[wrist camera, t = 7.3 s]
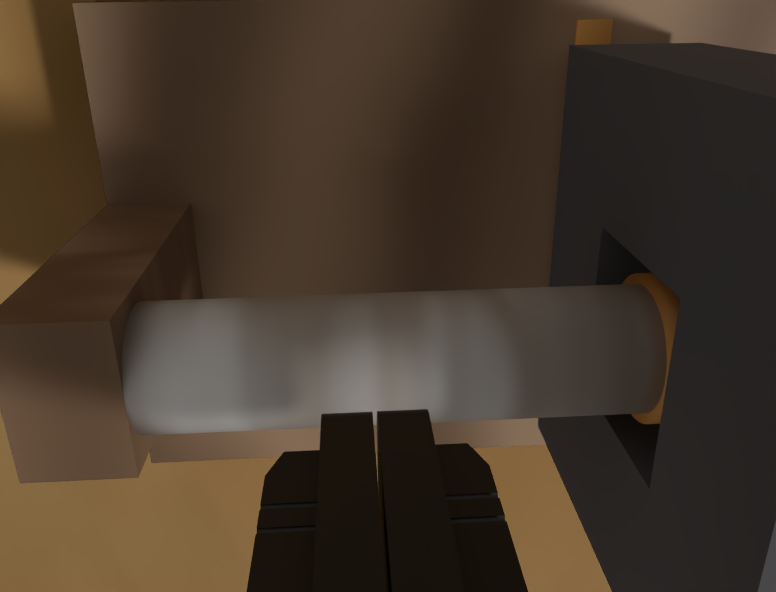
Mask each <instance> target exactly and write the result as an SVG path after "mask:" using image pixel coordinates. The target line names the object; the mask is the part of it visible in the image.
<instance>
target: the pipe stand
mask: <svg viewBox="0 0 776 592" xmlns="http://www.w3.org/2000/svg"><path fill="white" fill-rule="evenodd" d="M72 5H73V11H74V16H75V22H76V28H77V34H78V40H79V45H80V51H81V57H82V63H83V69H84V74H85V80H86V86H87V92H88V98H89V103H90V109H91V115H92V121H93V127H94V132H95V138H96V144H97V150H98V156H99V161H100V167H101V173H102V179H103V185H104V190H105V196H106V202H107V206H106V207H104V208H103V209H102V210H101V211H100V212H99V213H98V214H97V215H96V216H95V217H94V218H93V219H92V220H91V221H90V222H88V223H87V224H86V225H85V226H84V227H83V228H82V229H81V230H80V231H79V232H78V233H77V234H76V235H75V236H74V237H72V238H71V239H70V240H69V241H68V242H67V243H66V244H65V245H64V246H63V247H62V248H61V249H60V250H59V251H57V252H56V253H55V254H54V255H53V256H52V257H51V258H50V259H49V260H48V261H47V262H46V263H45V264H44V265H43V266H41V267H40V268H39V269H38V270H37V271H36V272H35V273H34V274H33V275H32V276H31V277H30V278H29V279H28V280H27V281H25V282H24V283H23V284H22V285H21V286H20V287H19V288H18V289H17V290H16V291H15V292H14V293H13V294H12V295H10V296H9V297H8V298H7V299H6V300H5V301H4V302H3V303H2V304H1V305H0V409H1V413H2V417H3V421H4V425H5V428H6V432H7V436H8V440H9V444H10V447H11V451H12V455H13V459H14V463H15V466H16V470H17V474H18V478H19V482H20V483H35V482H57V481H78V480H99V479H120V478H138V477H139V475H140V472H141V470H142V467H143V465H144V463H145V460H146V458H147V455H148V453H149V452H150V457H151V463H159V462H181V461H203V460H225V459H246V458H268V457H280V456H281V455H282V454H283V452H286V451H309V450H320V430H321V415H322V414H329V413H352V412H373V425H374V439H375V453H377V411H394V410H417V409H428V411H429V416H430V421H431V425H432V430H433V435H434V440H435V445H436V444H458V443H468V444H469V445H470V446H471V447H472V448H485V447H507V446H529V445H546V443H545V441H544V438H543V436H542V434H541V432H540V429H539V427H538V418H549V417H571V416H594V415H617V414H631V415H632V416H633V417H634V418H635V419H636V420H637V421H638V422H640V423H642V424H660V421H661V415H662V409H663V402H664V396H665V390H666V384H667V378H668V372H669V365H670V359H671V353H672V347H673V341H674V335H675V328H676V322H677V316H678V310H679V304H680V298H679V297H678V296H677V295H676V294H675V293H674V292H673V291H671V290H670V289H669V288H668V287H667V286H666V285H665V284H664V283H663V282H662V281H661V280H660V279H658V278H657V277H656V276H655V275H654V274H653V273H635V274H632V275H630V276H628V277H627V278H626V279H625V281H624V282H623V283H622V284H618V285H590V286H561V287H549V285H550V273H551V261H552V249H553V237H554V225H555V213H556V201H557V189H558V177H559V165H560V153H561V141H562V129H563V117H564V105H565V93H566V80H567V68H568V56H569V45H602V44H659V43H706V44H712V45H719V46H725V47H731V48H738V49H744V50H751V51H757V52H763V53H770V54H776V0H184V1H113V2H82V3H72Z"/></svg>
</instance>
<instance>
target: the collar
mask: <svg viewBox="0 0 776 592" xmlns="http://www.w3.org/2000/svg"><path fill="white" fill-rule="evenodd" d="M635 273H653V274H654V275H655V276H656V277H657V278H658V279H660V280H661V281H662V282H663V283H664V284H665V285H666V286H667V287H668V288H669V289H670V290H671V291H673V292H674V293H675V294H676V295H677V296H678V297H679V298H680V304H679V310H678V316H677V322H676V328H675V335H674V341H673V347H672V353H671V359H670V365H669V372H668V378H667V384H666V390H665V396H664V402H663V409H662V415H661V421H660V424H642V423H640V422H638V421H637V420H636V419H635V418H634V417H633V416H632V415H631V414H617V415H594V416H571V417H549V418H538V427H539V429H540V432H541V434H542V436H543V438H544V441H545V443H546V445H547V447H548V450H549V452H550V454H551V456H552V458H553V461H554V463H555V465H556V467H557V470H558V472H559V474H560V476H561V478H562V481H563V483H564V485H565V487H566V490H567V492H568V494H569V496H570V499H571V501H572V503H573V505H574V507H575V510H576V512H577V514H578V516H579V519H580V521H581V523H582V525H583V528H584V530H585V532H586V534H587V536H588V539H589V541H590V543H591V545H592V548H593V550H594V552H595V554H596V557H597V559H598V561H599V563H600V565H601V568H602V570H603V572H604V574H605V577H606V579H607V581H608V583H609V586H610V588H611V590H612V592H776V54H770V53H763V52H757V51H751V50H744V49H738V48H731V47H725V46H719V45H712V44H706V43H659V44H602V45H569V56H568V68H567V80H566V93H565V105H564V117H563V129H562V141H561V153H560V165H559V177H558V189H557V201H556V213H555V225H554V237H553V249H552V261H551V273H550V285H549V287H561V286H590V285H618V284H622V283H623V282H624V281H625V279H626V278H627V277H628V276H630V275H632V274H635Z"/></svg>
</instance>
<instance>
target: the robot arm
mask: <svg viewBox="0 0 776 592" xmlns="http://www.w3.org/2000/svg"><path fill="white" fill-rule="evenodd" d="M377 455H378V482H377V468H376V453H375V439H374V425H373V412H352V413H329V414H322V415H321V430H320V450H309V451H286V452H283V454H282V455H281V456H280V458H279V459H278V460H277V461H276V463H275V464H274V465H273V467H272V468H271V469H270V470H269V472H268V473H267V474H266V475H265V479H264V486H263V492H262V498H261V510H260V511H259V517H258V524H257V534H256V536H255V543H254V549H253V555H252V561H251V568H250V574H249V580H248V587H247V592H528V590H527V587H526V584H525V580H524V577H523V574H522V570H521V567H520V564H519V561H518V557H517V554H516V551H515V548H514V544H513V541H512V538H511V535H510V531H509V528H508V525H507V522H506V521H505V515H504V512H503V508H502V505H501V502H500V499H499V498H498V492H497V489H496V486H495V482H494V479H493V476H492V473H491V469H490V466H489V465H488V464H487V462H486V461H485V460H484V459H483V458H482V457H481V456H480V455H479V454H478V453H477V452H476V451H475V450H474V449H473V448H472V447H471V446H470V445H469V444H468V443H458V444H436V445H435V440H434V435H433V430H432V425H431V421H430V416H429V411H428V409H417V410H394V411H377Z"/></svg>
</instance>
